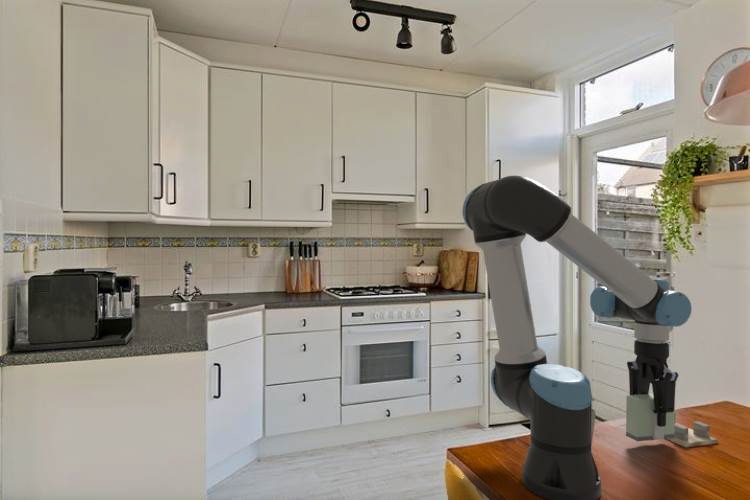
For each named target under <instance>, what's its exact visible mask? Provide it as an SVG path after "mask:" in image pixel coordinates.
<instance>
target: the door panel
mask: <svg viewBox="0 0 750 500" xmlns="http://www.w3.org/2000/svg"><path fill="white" fill-rule="evenodd" d="M675 407H676V403H675V404H674V412H668V413H666V426H664V439H663V440H668V439H669V438H674V422H675V413H676V412H675ZM625 408H626V410H625V411H626V412H625V413H626V418H625V420H626V421H625V422H626V423H625V437H628V438H630V439H632V440H634V441H635V442H644V441H645V442H646V441H658V440H659V439H656V440H654V439H652V412H653V410H655V403H654V396H653V393H648V394H642V395H630V394H629V395H626V407H625ZM661 408H662V407H661Z"/></svg>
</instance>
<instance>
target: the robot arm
mask: <svg viewBox="0 0 750 500" xmlns="http://www.w3.org/2000/svg"><path fill="white" fill-rule="evenodd" d="M572 212H573V210H572V206H571V204H568V203H567V202H566V201H565V200H564V199H563V198H561V197H560V196H559V195H557V194H556V193H554V192H553V191H552V190H551V189H549V188H547V187H546V186H545V185H542V184H541V183H539V181H536V180H533V179H531V178H529V177H526V176H522V175H507V176H504V177H501V178H499V179H496V180H492V181H489V182H485V183H481V185H478V186H477V187H475V188H473V189H472V190H471V191H470V192H469V193H468V195H467V196H466V197H465V200H464V201H463V205H462V217H463V220H464V223H465V225H466V226H467V228H468V229H470V230H471V231H472V232H473V239H474V244H475V245H476V246H477V247H479V248H480V249H481V250H482V252H483V259H484V266H485V271H486V276H487V282H488V283H487V284H488V289H489V295H490V300H491V306H492V313H493V318H494V324H495V330H496V336H497V343H498V349H499V350H498V351H497V353H496V354H495V355H494V368H493V369H492V370H491V374H490V385H491V388H492V390H493V393H494V395H495V396H496V397H497V399H499V401H500V402H502V404H503V405H505V407H508V408H509V409H510V410H512V411H515V412H517V413H519V414H520V415H522V416H523V417H525V418H527V419H528V420H530V443H529V447H528V450H527V452H526V455H525V459H524V463H523V465H522V468H521V481H522V484H523V486H524V487H525V488H526V489H527V490H528V491H530V492H531V493H533V494H534V495H537V496H538V497H541V498H543V499H546V500H598V499H599V498H600V497H601V495H602V480H601V477H600V474H599V471H598V467H597V464H596V462H595V458H594V455H593V452H592V446H591V414H592V409H593V407H592V402H593V395H592V388H591V387H592V386H591V382H590V380H589V378H588V376H587V375H586V374H584V373H583V372H581V371H580V370H577V369H575V368H572V367H569V366H563V365H562V364H554V363H553V364H552V363H548V360H547V354H546V351H545V350H544V349H542V348H541V347H539V346H538V342H537V336H536V329H535V324H534V318H533V317H534V316H533V311H532V304H531V298H530V293H529V287H528V281H527V276H526V268H525V264H524V257H523V252H522V251H523V249H522V242H523V241H524V240H525V238H526V237H527V235H529V236H530V237H532V238H533V239H534V240H535V241H537V242H539V243H544V242H545V243H546V242H547V244H549V245H550V246H551V247H553V248H554V249H555V250H557V252H559V253H560V254H561V255H563V256H564V257H566V258H567V259H568V260H569V261H571V262H572V263H573V264H574V265H575V266H577V267H578V268H580V269H581V270H582V271H583V272H585V273H586V274H587V275H588V276H590V277H591V278H593V280H594V281H596V282H598V283H599V284H600V285H601V286H596V288H594V289H593V290H592V292H591V294H590V297H589V298H590V300H589V305H590V309H591V311H592V312H593V314H594V315H595V316H597V317H599V318H608V319H612V318H617V319H618V318H619V319H625V320H630V321H631V320H632V321H634V333H633V337H634V338H635V340H634V343H633V344H634V345H633V347H634V348H633V353H634V354H635V355H636V358H635V360H633V361H632V360H629V361H626V364H627V365H626V366H627V369H628V380H629V382H628V384H629V395H642V394H650V386H651V387H652V388H651V389H652V394H653V396H654V403H655V410H653V412H652V439H654V440H653V441H657V440H656V439H658V440H665V439H664V426H666V413H668V412H674V404H675V405H676V400H675V399H676V386H677V385H676V383H677V381H678V377H679V373H678V372H677V371H673V370H671V369H670V368H669V366H668V362H667V361H668V358H669V357H670V343H669V342H668V341H670V327H681V326H682V325H684V324H685V323H687V322H688V321H689V319H690V317H691V316H692V315H691V314H692V309H693V308H692V304H691V301H690V299H689V297H688V296H687V295H686V294H685V293H683V292H681V291H680V292H679V291H676V290H673V289H672V290H671V289H670V283H669V281H668V280H666V278H653V277H650V276H649V275H648V274H647V273H645V272H644V271H643V270H642V269H641V268H640V267H638V266H637V265H636V264H634V263H633V262H632V261H630V259H628V258H627V257H626V256H625V255H623V254H622V253H621V252H620V251H618V250H617V249H616V248H614V247H613V246H612V245H611V244H610V243H608V242H607V241H606V240H605V239H604V238H602V237H601V236H600V235H599V234H598V233H596V232H595V231H594V230H592V228H590V227H589V226H587V224H585V223H584V222H582V221H581V220H580V219H579V218H578V217H577V216H575V215H574V214H573V213H572ZM650 384H651V385H650ZM661 407H662V408H661Z"/></svg>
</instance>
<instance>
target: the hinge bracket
mask: <svg viewBox="0 0 750 500" xmlns="http://www.w3.org/2000/svg"><path fill="white" fill-rule="evenodd" d="M692 424H693V427H692V428H693V429H692V428H691V427H690V428H689V427H687V426H685V425H683V424H679V423H677V422H676V412H675V422H674V438H669V439H667V440H668V441H671V442H672V443H675V444H677V445H678V446H679V445H680V446H682V447H684V448H691V447H698V446H699V447H700V446H701V447H702V446H706V445H708V446H709V445H714V444H718V442H719V441H718V439H717V438H716V437H713V436H711V432H710V431H711V427H710V426H711V425H709V424H706V423H703V422H701V421H698V420H697V421H693V423H692Z"/></svg>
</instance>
